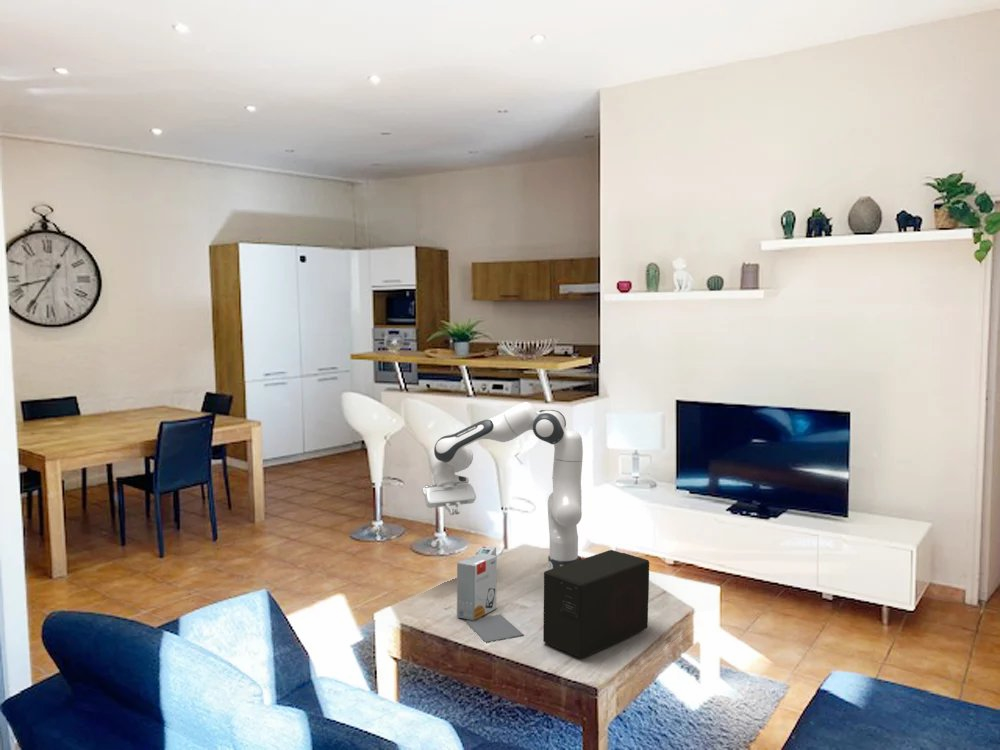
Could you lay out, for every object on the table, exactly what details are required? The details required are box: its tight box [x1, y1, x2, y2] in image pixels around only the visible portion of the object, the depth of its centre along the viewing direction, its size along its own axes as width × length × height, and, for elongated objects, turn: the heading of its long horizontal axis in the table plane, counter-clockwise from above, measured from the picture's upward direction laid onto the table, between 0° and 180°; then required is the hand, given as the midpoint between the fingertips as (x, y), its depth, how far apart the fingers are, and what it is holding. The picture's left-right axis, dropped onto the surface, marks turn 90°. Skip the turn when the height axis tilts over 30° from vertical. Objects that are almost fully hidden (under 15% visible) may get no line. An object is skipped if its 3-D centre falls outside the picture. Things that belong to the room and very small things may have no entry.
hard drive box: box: [456, 553, 498, 621], centre depth 279 cm, size 16×8×20 cm, turn 148°
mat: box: [464, 613, 525, 643], centre depth 267 cm, size 14×19×1 cm
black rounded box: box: [542, 549, 650, 659], centre depth 260 cm, size 38×20×25 cm, turn 133°
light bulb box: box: [475, 545, 497, 556], centre depth 320 cm, size 11×7×11 cm, turn 168°
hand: (455, 513), depth 298 cm, fingers closed
